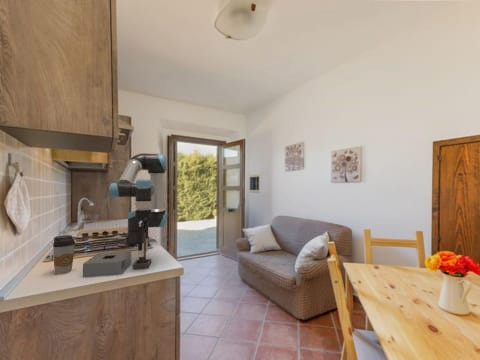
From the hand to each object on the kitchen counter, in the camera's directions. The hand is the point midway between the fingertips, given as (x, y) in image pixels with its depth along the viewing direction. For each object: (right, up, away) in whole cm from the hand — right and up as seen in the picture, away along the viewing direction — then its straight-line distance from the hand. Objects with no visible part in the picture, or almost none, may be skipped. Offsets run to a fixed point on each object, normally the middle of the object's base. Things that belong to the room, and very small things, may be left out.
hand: (142, 253), depth 112 cm
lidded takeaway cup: (-51, -7, +13) cm, 53 cm away
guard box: (-14, -6, -4) cm, 16 cm away
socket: (0, -6, 0) cm, 6 cm away
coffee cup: (-34, -6, -7) cm, 36 cm away
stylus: (0, -6, 0) cm, 6 cm away
